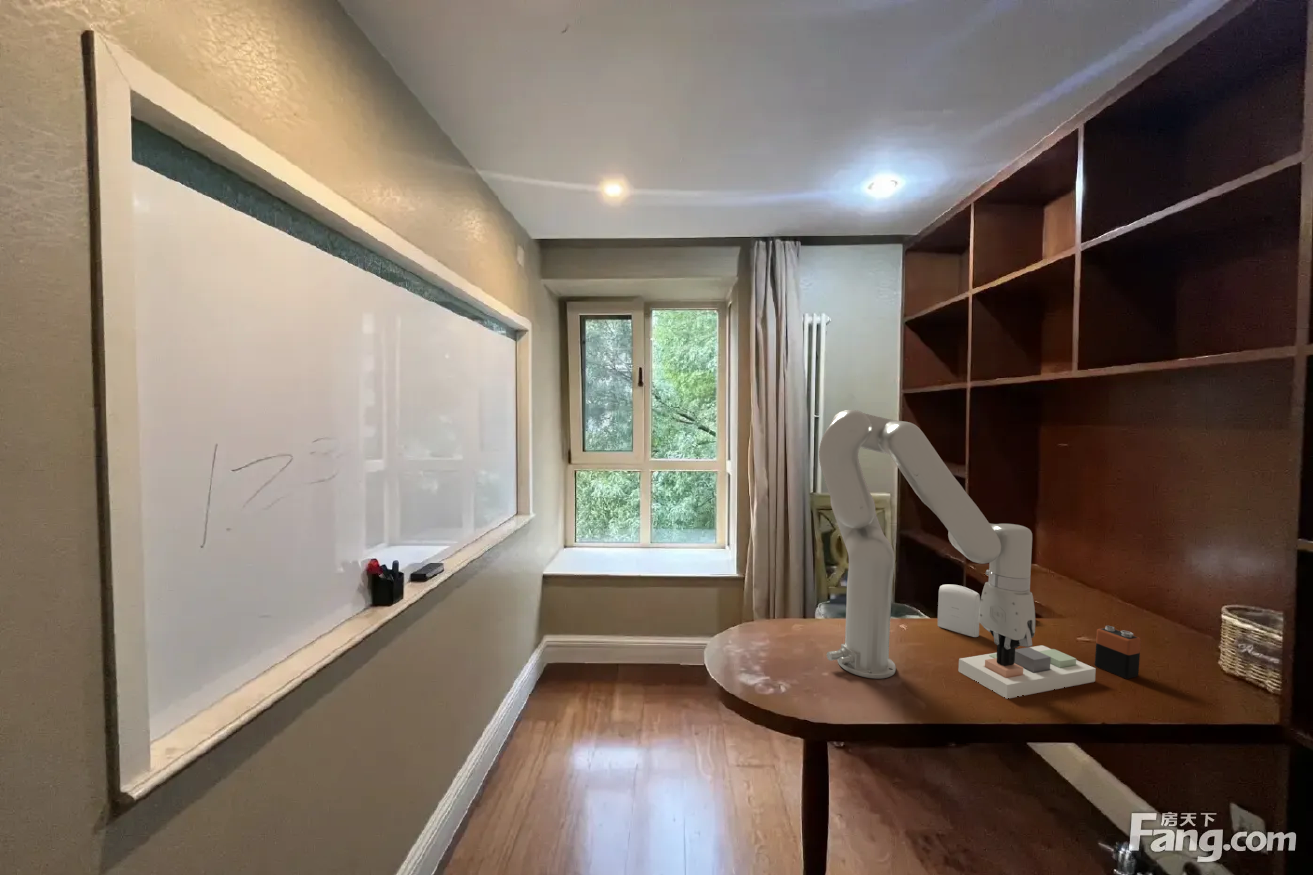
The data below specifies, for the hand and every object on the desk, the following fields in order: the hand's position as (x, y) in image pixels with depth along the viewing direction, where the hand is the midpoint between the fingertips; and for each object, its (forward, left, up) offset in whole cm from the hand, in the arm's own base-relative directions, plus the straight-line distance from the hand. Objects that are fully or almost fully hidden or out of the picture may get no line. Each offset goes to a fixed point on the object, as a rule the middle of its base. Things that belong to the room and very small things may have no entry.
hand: (1005, 663), depth 117 cm
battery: (+31, -3, -5) cm, 31 cm away
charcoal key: (+8, 0, -2) cm, 8 cm away
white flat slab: (+8, +1, -5) cm, 9 cm away
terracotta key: (0, 0, -3) cm, 3 cm away
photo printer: (+14, +25, -5) cm, 29 cm away
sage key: (+16, 0, -3) cm, 16 cm away
